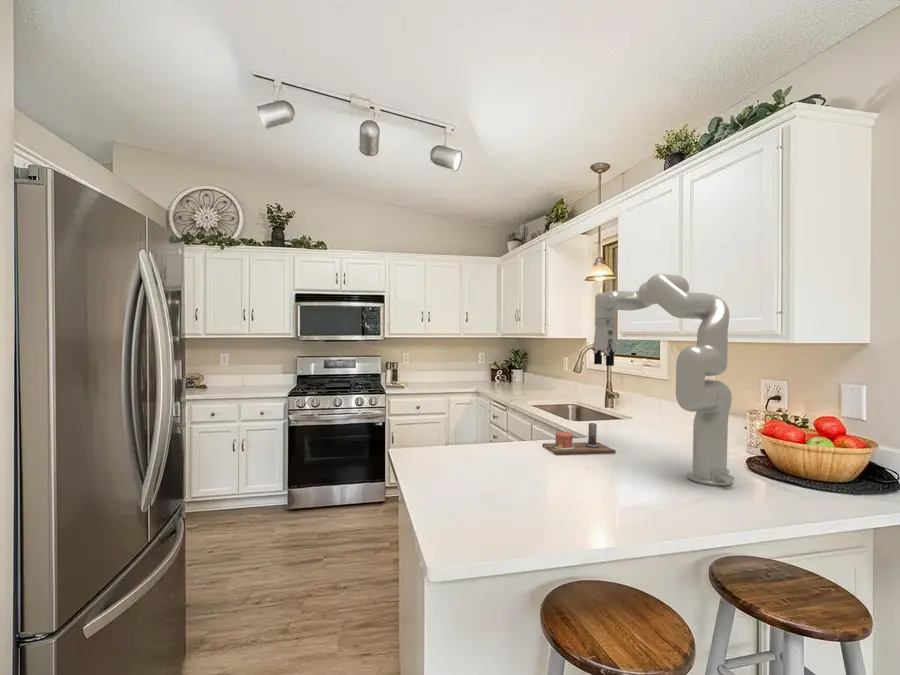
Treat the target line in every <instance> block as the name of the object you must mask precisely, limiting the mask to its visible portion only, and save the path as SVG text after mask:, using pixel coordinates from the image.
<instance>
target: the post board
mask: <svg viewBox="0 0 900 675" xmlns="http://www.w3.org/2000/svg"><path fill="white" fill-rule="evenodd" d="M597 428H598V427H597V423H595V422H589V423H588V442H572V447H571V448H558V447H557V446H555V442H554V443H553V442H552V443H545V442H544V443H542V447H543V446H545V447H546V448H547V449H549V450H550V451H552V452H553V453H554V454H553V453H552V452H551V453H552V454H553V455H555V454H556V455H555V456H572V455H573V456H575V455H577V456H578V455H580V456H581V455H611V454H616V450H615V449H613V448H610V447H609V446H607V445H605V444H602V443H601V442H598V441H597ZM546 448H545V449H546ZM547 449H546V450H547ZM549 450H548V451H549ZM550 451H549V452H550Z"/></svg>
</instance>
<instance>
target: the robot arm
mask: <svg viewBox="0 0 900 675" xmlns="http://www.w3.org/2000/svg"><path fill="white" fill-rule="evenodd" d="M689 289H690V284H689V282H688V280H687V279H686V278H685V277H683V276H681V275H678V274H677V275H676V274H667V273H658V274H657V273H656V274H654V275H651V277H650V278H648V279H647V281H645V282H643V283H642V284H641V285H640V286H639V287H638V290H635V291H625V290H610V291H607V292H599V293H596V294H595V296H594V297H595V300H594V301H595V304H594V327H595V330H594V336H593V337H594V338H593V340H594V342H593V344H592V348H593V349H592V350H593V355H594V356H593V357H594V358H593V360H594V361H593V364H594V365H602V364H603V354H602V353H603V352H604V351H605V353H606V355H605V366H606V367H614V366H615V356H616V355H615V354H616V349H617V337H616V330H615V329H616V328H615V311H629V312H630V311H638V310H642V309H646V308H649V307H651V306H652V305H658V306H659V307H660V308H662V309H663V310H664V311H666V312H667V313H668V314H669V315H671V316H673V318H674V317H675V318H677V319H692V320H693V319H694V320H697V319H698V320H701V322H700V324H699V326H698V329H697V332H696V345H689V346H686V347H684V348H683V349H682V350H681V351H680V352H679V354H678V355H677V358H676V361H675V362H676V364H675V397H676V398H675V399H676V401H677V403H678V405H679V407H680V408H681V409H683V410H685V411H687V412H692V413H693V412H694V413H695V412H696V413H695V415H694V418H693V428H692V470H689V471H688V472H686V477H687V479H689V480H691V481H693V482H695V483H698V484H702V485H703V484H704V485H710V486H720V487H723V486H731V485H732V484H733V481H734V480H735V476H734V475H730V470H729V469H728V433H729V432H728V431H729V428H728V427H729V415H730V410H731V406H732V401H733V398H732V397H733V395H732V394H733V393H732V392H731V389H730V388H729V386H728V385H727V384H726V383H724V382H722V381H720V380H715V379H706V377H713V376H714V377H715V376H719V375H723V373H725V372H726V370H727V367H728V356H729V355H728V352H729V350H728V349H729V348H728V347H729V344H728V343H729V342H728V341H729V339H728V338H729V325H730V324H729V322H730V310H729V307H728V305H727V303H726V302H725V300H723V299H722V298H721V297H718V296H717V295H714V294H710V293H706V292H692V291H691V292H690V291H689Z"/></svg>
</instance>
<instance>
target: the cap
mask: <svg viewBox="0 0 900 675" xmlns="http://www.w3.org/2000/svg"><path fill="white" fill-rule="evenodd" d="M554 440H555V442H554V443H555V446H557V447H558V448H571V447H572V443H573V433H571V432H569V431H568V432H567V431H557V432H555V439H554Z"/></svg>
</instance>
